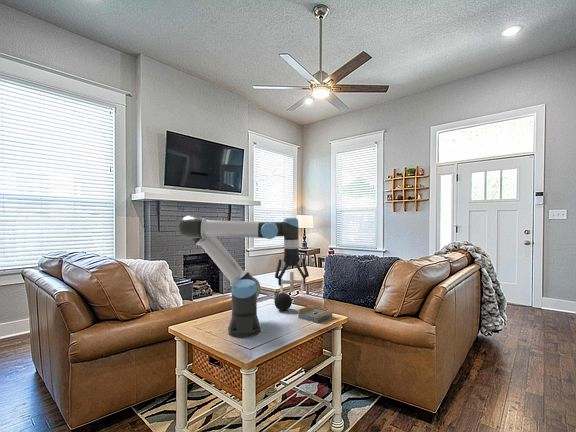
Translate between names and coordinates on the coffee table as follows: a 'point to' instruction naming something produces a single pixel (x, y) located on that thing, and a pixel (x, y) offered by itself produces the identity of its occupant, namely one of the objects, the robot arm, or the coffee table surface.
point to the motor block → (314, 314)
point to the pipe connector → (292, 281)
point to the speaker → (283, 301)
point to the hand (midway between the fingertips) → (292, 291)
